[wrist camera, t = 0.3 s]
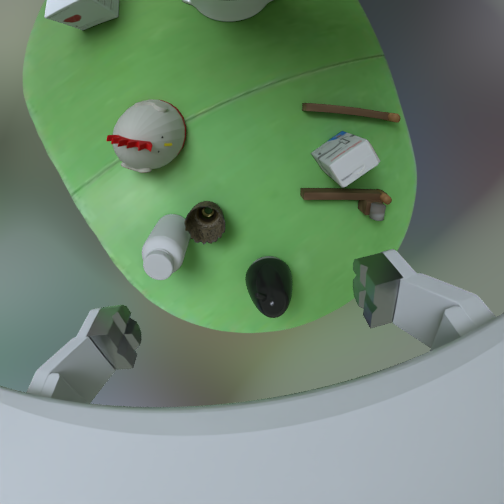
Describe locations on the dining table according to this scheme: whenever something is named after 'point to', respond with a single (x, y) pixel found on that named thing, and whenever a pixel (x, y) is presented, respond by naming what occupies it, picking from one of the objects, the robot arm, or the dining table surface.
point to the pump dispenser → (269, 285)
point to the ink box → (346, 158)
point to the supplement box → (81, 12)
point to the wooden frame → (367, 198)
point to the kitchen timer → (148, 135)
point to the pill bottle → (165, 247)
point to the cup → (205, 223)
